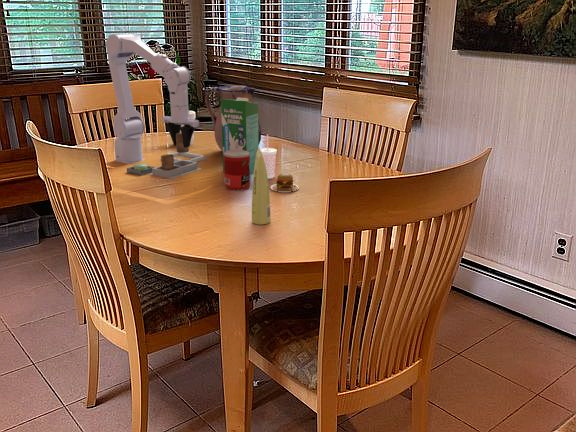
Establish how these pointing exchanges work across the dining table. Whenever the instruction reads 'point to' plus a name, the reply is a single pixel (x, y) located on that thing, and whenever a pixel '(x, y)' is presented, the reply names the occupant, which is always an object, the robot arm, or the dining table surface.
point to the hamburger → (284, 182)
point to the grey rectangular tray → (176, 169)
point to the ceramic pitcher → (231, 94)
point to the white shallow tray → (189, 156)
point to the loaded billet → (167, 162)
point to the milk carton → (240, 127)
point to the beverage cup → (269, 160)
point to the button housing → (138, 172)
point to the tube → (260, 192)
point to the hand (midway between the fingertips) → (181, 146)
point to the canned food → (237, 169)
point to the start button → (140, 166)
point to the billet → (180, 144)
